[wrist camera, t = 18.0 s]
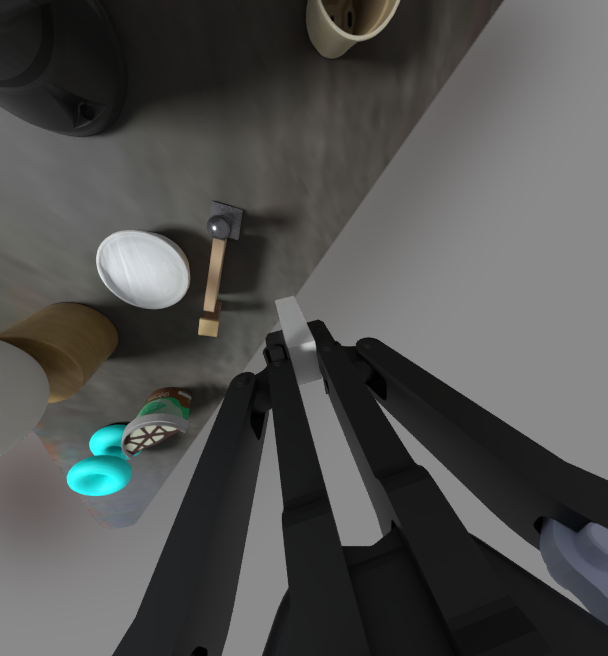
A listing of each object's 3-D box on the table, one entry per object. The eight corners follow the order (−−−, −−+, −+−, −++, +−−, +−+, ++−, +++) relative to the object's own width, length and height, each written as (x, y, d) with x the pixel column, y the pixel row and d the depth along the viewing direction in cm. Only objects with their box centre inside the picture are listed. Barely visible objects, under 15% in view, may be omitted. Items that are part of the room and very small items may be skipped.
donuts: (134, 471, 44) (120, 500, 47) (153, 426, 52) (140, 453, 55) (68, 464, 39) (58, 497, 43) (100, 417, 48) (89, 447, 51)
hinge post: (209, 232, 36) (196, 243, 27) (212, 200, 34) (199, 201, 25) (238, 239, 37) (235, 253, 28) (242, 210, 35) (241, 214, 26)
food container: (178, 373, 47) (162, 412, 38) (197, 391, 50) (187, 431, 41) (126, 400, 47) (99, 444, 39) (149, 416, 51) (128, 461, 42)
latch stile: (207, 310, 42) (198, 334, 34) (208, 297, 41) (199, 319, 33) (222, 312, 43) (216, 336, 35) (223, 299, 41) (218, 321, 34)
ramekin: (96, 252, 34) (73, 260, 30) (156, 209, 33) (141, 211, 29) (157, 309, 40) (146, 323, 35) (210, 274, 39) (205, 284, 34)
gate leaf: (218, 231, 35) (213, 238, 30) (228, 234, 36) (224, 241, 30) (209, 294, 40) (203, 310, 34) (218, 296, 40) (213, 312, 34)
